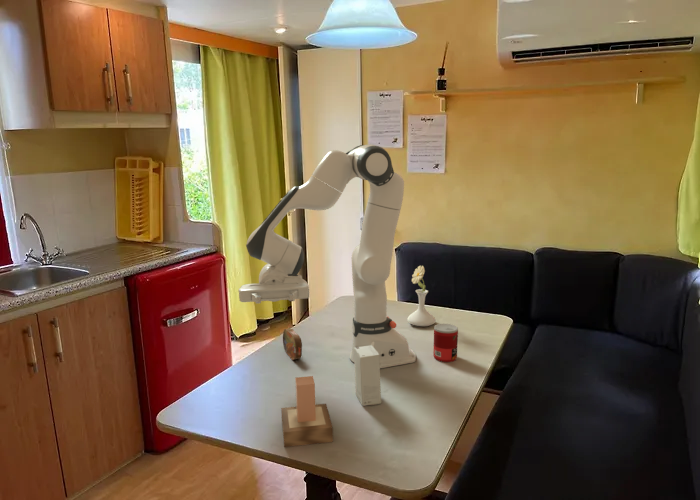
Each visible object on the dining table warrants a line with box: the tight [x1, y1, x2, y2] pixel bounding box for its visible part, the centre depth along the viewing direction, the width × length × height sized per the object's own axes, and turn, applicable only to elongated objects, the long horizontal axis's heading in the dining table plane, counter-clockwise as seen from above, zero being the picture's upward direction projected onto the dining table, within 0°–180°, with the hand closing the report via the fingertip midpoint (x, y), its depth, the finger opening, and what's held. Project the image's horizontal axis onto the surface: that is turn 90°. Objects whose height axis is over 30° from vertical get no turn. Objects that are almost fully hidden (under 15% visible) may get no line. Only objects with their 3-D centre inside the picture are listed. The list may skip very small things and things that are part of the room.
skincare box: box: [353, 345, 382, 407], centre depth 151 cm, size 8×6×15 cm
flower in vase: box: [407, 265, 436, 327], centre depth 210 cm, size 13×11×25 cm
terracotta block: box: [294, 375, 316, 422], centre depth 134 cm, size 4×4×10 cm
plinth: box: [280, 403, 334, 448], centre depth 136 cm, size 12×12×4 cm
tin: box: [282, 328, 303, 361], centre depth 183 cm, size 15×3×8 cm, turn 23°
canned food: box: [433, 323, 459, 363], centre depth 179 cm, size 8×8×11 cm
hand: (275, 299), depth 147 cm, fingers open, 8 cm apart
